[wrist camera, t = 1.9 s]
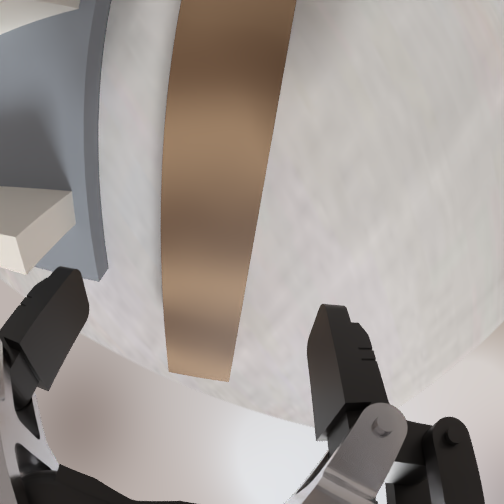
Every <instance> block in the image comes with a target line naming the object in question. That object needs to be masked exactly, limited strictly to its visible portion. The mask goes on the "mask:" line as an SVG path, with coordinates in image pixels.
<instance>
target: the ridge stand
mask: <svg viewBox="0 0 504 504" xmlns="http://www.w3.org/2000/svg"><path fill="white" fill-rule="evenodd" d="M110 3H111V0H0V267H1V268H4V269H8V270H11V271H15V272H18V273H22V274H25V275H27V274H28V273H29V272H30V271H31V269H32V268H33V267H38V268H42V269H46V270H50V271H54V270H55V269H56V268H57V267H59V266H63V267H69V268H74V269H78V270H79V271H80V272H81V275H82V278H84V279H89V280H94V281H98V282H99V281H100V280H101V278H102V277H103V275H104V274H105V272H106V271H107V269H108V263H107V256H106V249H105V241H104V233H103V223H102V213H101V201H100V187H99V166H98V109H99V89H100V75H101V64H102V55H103V46H104V39H105V32H106V25H107V19H108V14H109V8H110Z"/></svg>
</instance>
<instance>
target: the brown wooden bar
mask: <svg viewBox="0 0 504 504" xmlns="http://www.w3.org/2000/svg"><path fill="white" fill-rule="evenodd" d="M295 5H296V0H181V6H180V11H179V16H178V22H177V28H176V34H175V40H174V47H173V54H172V61H171V69H170V77H169V85H168V95H167V105H166V116H165V128H164V143H163V161H162V187H161V264H162V290H163V309H164V324H165V336H166V348H167V358H168V368H169V372H172V373H178V374H183V375H188V376H194V377H200V378H206V379H212V380H219V381H226V382H229V378H230V372H231V366H232V361H233V355H234V349H235V344H236V338H237V332H238V327H239V321H240V315H241V310H242V304H243V298H244V293H245V287H246V281H247V276H248V270H249V264H250V259H251V253H252V248H253V242H254V236H255V231H256V225H257V219H258V214H259V208H260V202H261V197H262V191H263V185H264V180H265V174H266V168H267V163H268V157H269V152H270V146H271V140H272V135H273V129H274V123H275V118H276V112H277V106H278V101H279V95H280V89H281V84H282V78H283V73H284V67H285V61H286V56H287V50H288V44H289V39H290V33H291V28H292V22H293V16H294V11H295Z"/></svg>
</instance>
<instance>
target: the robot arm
mask: <svg viewBox="0 0 504 504" xmlns="http://www.w3.org/2000/svg"><path fill="white" fill-rule="evenodd" d="M88 315H89V302H88V299H87V295H86V291H85V287H84V283H83V279H82V275H81V272H80V271H79V270H78V269H74V268H69V267H63V266H59V267H57V268H56V269H55V270H54V272H53V273H52V274H51V275H50V276H49V277H48V278H46V279H44V280H43V281H41V282H40V283H38V284H37V285H35V286H34V287H33V289H32V290H31V291H30V292H29V293H28V295H27V298H26V297H25V298H24V300H23V301H22V302H21V305H19V306H18V307H17V308H16V310H15V311H14V312H13V314H12V315H11V316H10V318H9V319H8V320H7V322H6V323H5V324H4V326H3V327H2V328H1V330H0V504H194V503H189V502H183V501H135V500H131V499H129V498H127V497H125V496H124V495H122V494H120V493H118V492H117V491H115V490H113V489H111V488H110V487H108V486H106V485H105V484H103V483H102V482H100V481H98V480H97V479H95V478H93V477H90V476H87V475H85V474H82V473H80V472H77V471H75V470H72V469H70V468H68V467H65V466H63V465H61V464H60V465H59V464H58V462H57V460H56V458H55V456H54V454H53V453H52V451H51V450H50V448H49V446H48V444H47V441H46V437H45V434H44V430H43V426H42V421H41V417H40V412H39V408H38V403H37V398H36V395H35V393H34V391H35V389H36V387H40V388H42V389H44V390H47V391H49V389H50V387H51V385H52V383H53V381H54V379H55V377H56V375H57V373H58V371H59V369H60V367H61V365H62V364H63V362H64V360H65V358H66V356H67V354H68V352H69V351H70V349H71V347H72V345H73V343H74V342H75V340H76V338H77V336H78V334H79V333H80V331H81V329H82V328H83V326H84V324H85V322H86V321H87V318H88ZM307 358H308V367H309V375H310V384H311V393H312V403H313V413H314V423H315V434H316V441H328V448H329V450H328V451H327V452H326V453H325V455H324V456H323V458H322V459H321V460H320V462H319V463H318V464H317V466H316V467H315V468H314V469H313V471H312V472H311V473H310V475H309V476H308V477H307V478H306V480H305V481H304V482H303V483H302V485H301V486H300V487H299V488H298V489H297V491H296V492H295V493H294V494H293V495H292V496H291V497H290V498H289V499H288V500H287V501H286V502H285V503H284V504H378V502H377V501H376V500H375V498H376V495H377V493H378V491H379V489H380V488H381V486H382V484H383V482H385V484H386V495H387V504H485V502H484V496H483V491H482V485H481V480H480V475H479V471H478V466H477V462H476V458H475V454H474V450H473V446H472V443H471V439H470V435H469V432H468V430H467V428H466V426H465V425H464V424H463V423H462V422H461V421H460V420H458V419H456V418H453V417H445V418H442V419H440V420H439V421H438V422H437V423H435V424H434V425H433V426H431V425H426V424H420V423H415V422H411V421H407V420H406V419H405V417H404V415H403V414H402V413H401V411H399V410H398V409H397V408H396V407H394V406H392V405H390V404H389V402H388V399H387V395H386V391H385V388H384V384H383V381H382V378H381V374H380V371H379V368H378V364H377V361H375V359H376V358H375V355H374V351H372V345H371V342H370V339H369V336H368V334H367V333H366V332H365V330H364V329H363V328H362V327H361V325H360V324H359V323H352V322H351V321H350V318H349V314H348V311H347V308H346V307H345V306H340V305H328V304H322V305H321V306H320V308H319V311H318V313H317V316H316V319H315V322H314V325H313V327H312V330H311V333H310V336H309V339H308V344H307Z"/></svg>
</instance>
